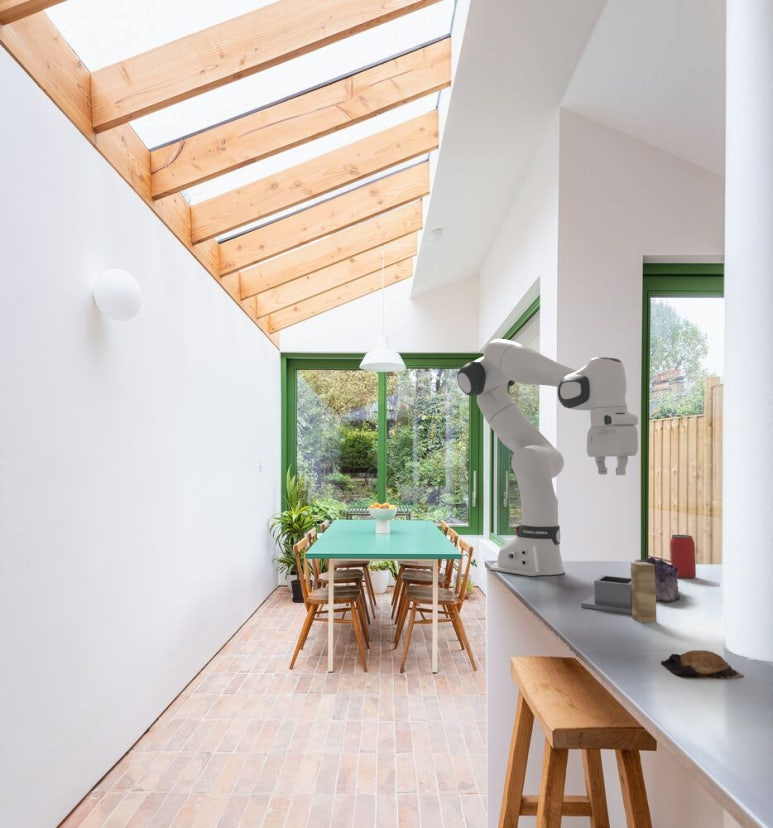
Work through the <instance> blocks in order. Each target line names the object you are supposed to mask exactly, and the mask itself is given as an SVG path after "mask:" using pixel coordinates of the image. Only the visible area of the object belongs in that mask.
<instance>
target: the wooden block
mask: <svg viewBox="0 0 773 828" xmlns="http://www.w3.org/2000/svg"><path fill="white" fill-rule="evenodd" d="M634 562H635V561H634ZM634 562H630V568H631V570H630V578H631V588H632V614H631V615H632V617H631V618H632V619H633V620H635V621H637V622H639V623H657V602H656V590H655V565H653V564H650V563H646V562H635V563H634Z"/></svg>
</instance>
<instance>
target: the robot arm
mask: <svg viewBox="0 0 773 828" xmlns="http://www.w3.org/2000/svg"><path fill="white" fill-rule="evenodd" d="M588 361H589V362H588V363H587V364H585V366H583V367H582V368H580V369H578V370H575V369H573V368H570V367H567V366H566V365H564V364H563V365H562V364H561V363H558V362H556V361H555V360H553V359H551V358H550V357H547V356H545V355H544V354H541V353H539V352H538V351H536V350H534V349H532V348H531V347H528V346H526V345H524V344H521V343H520V342H517V341H513V340H510V339H502V338H497V339H492V341H490V342H489V343H488V344H487V345H486V346H485V349H484V351H483V355H482V356H481V357H479V358H477V359H475V360H473V361H471V362H468V363H466V364H464V365H463V366H462V367H461V368H459V370H458V372H457V376H456V378H457V379H456V381H457V384H458V386H459V388H460V390H461V391H462V392H463V393H464V394H465V395H467V396H468V397H474V396H477V397H476V403H477V405H478V408H479V410H480V412H481V414H482V416H483V418H484V419H485V421H486V422H487V424H488V425H489V427H490V428H491V429H492V430H493V433H495V435H496V436H497V437H498V439H499V440H500V442H501V443H502V444H503V445H504V446H505V447H506V448H508V449H509V450H510V451H511V452H512V453H513V455H512V457H511V460H510V461H511V462H510V463H511V464H510V465H511V468H512V471H513V473H514V474H515V476H516V477H515V478H516V481H517V486H518V490H519V495H520V506H521V507H520V509H521V524H519V525H518V526H516V527H514V532H515V533H516V534H515V535H516V536H515V537H513V538H512V539H511V540H509V541H508V542H506V543H505V544H504V545H503V546H502V547H501V548H500V549H499V552H498V553H497V554H498V555H497V561H496V562H494V563H492V564H491V565H490V570H491V571H497V572H502V573H503V572H504V573H510V574H514V575H516V574H517V575H523V576H531V577H535V576H536V577H537V576H554V575H562V574H564V573H565V572H566V570H565V568H564V564H563V561H562V555H561V554H562V553H561V546H560V544H561V528H560V525H559V505H558V503H559V502H558V498H557V495H556V493H555V489H554V484H553V480H552V479H554V478H556V477H557V476H559V474H561V472H562V470H563V468H564V466H565V460H564V459H565V458H564V457H563V454H562V453H561V452H560V451H559V450H558V449H556V448H555V446H554V445H553V444H552V443H551V442H550V441H549V440H548V439H547V438H546V437H545V436H544V435H543V433H541V432H540V430H538V429H537V428H536V427H535V426H534V425H533V424H532V422H531V421H530V420H529V418H528V417H527V416H526V415H525V413H524V412H523V411H522V409H521V408H520V407H519V406H518V404H517V402H516V401H515V400H514V399H513V397H511V396H510V394H509V391H508V387H513V386H514V385H515V383H519V384H524V385H535V386H548V387H549V386H551V387H555V388H557V399H558V401H559V403H560V405H562V406H563V407H564V408H565V409H570V410H576V411H577V410H578V411H590V428H589V429H588V431H587V437H586V438H587V439H586V454H587V456H588V457H589V458H594V460H595V465H596V466H597V473H598V475H600V476H601V475H604V476H605V475H607V474H608V467H606V462H605V461H606V457H607V458H608V457H616V462H617V465H616V467H615V475H616V476H626V473H627V471H626V468H627V465H628V462H629V458H628V457H633V456H636V455H637V453H638V450H639V447H638V446H639V439H638V438H639V437H638V433H639V432H638V428H637V425H638V424H639V418H638V416H637V415H635V414H633V413H631V412H630V411H628V404H627V401H626V394H627V377H626V371H625V370H626V369H625V367H624V364H623V362H622V361H621V360H620V359H619V358H615V357H606V356H596V357H592V358H591V359H590V360H588Z"/></svg>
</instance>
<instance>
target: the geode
mask: <svg viewBox="0 0 773 828" xmlns="http://www.w3.org/2000/svg"><path fill="white" fill-rule="evenodd" d="M635 562H646V563H650V564H653V565H655V590H656V603H665V604H670V603H675V602H676V601H678V600H680V591H679V585H678V584H679V582H678V579H679V578H678V572H677V570H678V567H676V566H672V565H671V563H668V562H666V561H664V560H663V559H656V558H654V556H650V557H647V558H645V559H635V561H634V562H633V563H635ZM629 570H630V571H631V567H630V569H629Z"/></svg>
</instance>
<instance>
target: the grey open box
mask: <svg viewBox="0 0 773 828" xmlns="http://www.w3.org/2000/svg"><path fill="white" fill-rule="evenodd" d="M593 582H594V583H593V584H594V593H593V595H591V596H590V597H588V598H587V599H585V600H584V601H582V602H581V608H584V609H589V610H590V609H591V610H599V611H605V612H606V611H607V612H612V613H619V614H621V613H622V614H628V615H632V588H631V577H622V576H612V575H601V576H600V577H599V578H596V579H595V580H594V581H593Z"/></svg>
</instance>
